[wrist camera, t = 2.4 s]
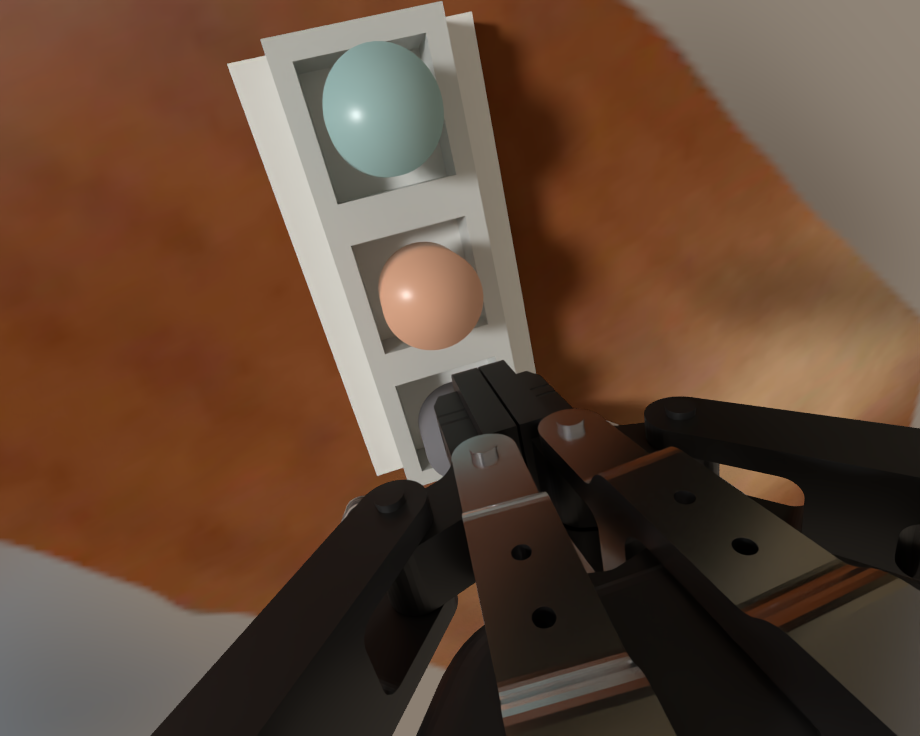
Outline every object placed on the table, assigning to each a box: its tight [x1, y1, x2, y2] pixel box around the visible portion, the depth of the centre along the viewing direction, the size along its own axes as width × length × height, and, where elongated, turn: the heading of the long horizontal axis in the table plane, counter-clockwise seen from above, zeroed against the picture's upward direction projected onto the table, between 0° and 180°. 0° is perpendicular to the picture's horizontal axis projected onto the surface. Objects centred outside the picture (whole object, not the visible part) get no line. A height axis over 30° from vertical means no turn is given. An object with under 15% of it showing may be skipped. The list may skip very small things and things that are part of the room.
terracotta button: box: [378, 242, 483, 350], centre depth 23 cm, size 5×5×3 cm
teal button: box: [322, 41, 444, 178], centre depth 20 cm, size 5×5×3 cm
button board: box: [227, 1, 536, 485], centre depth 27 cm, size 24×12×4 cm, turn 13°
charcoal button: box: [418, 382, 454, 476], centre depth 27 cm, size 5×5×3 cm
